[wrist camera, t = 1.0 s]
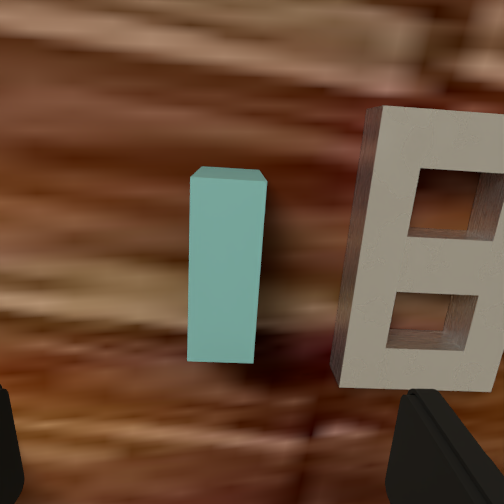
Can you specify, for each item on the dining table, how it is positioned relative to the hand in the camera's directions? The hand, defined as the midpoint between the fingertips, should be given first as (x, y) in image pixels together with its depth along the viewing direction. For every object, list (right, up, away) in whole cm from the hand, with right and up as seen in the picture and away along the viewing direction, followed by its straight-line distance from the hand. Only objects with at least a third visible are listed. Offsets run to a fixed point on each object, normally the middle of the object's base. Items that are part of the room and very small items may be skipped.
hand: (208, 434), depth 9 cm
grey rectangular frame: (+14, +4, +20) cm, 25 cm away
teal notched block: (-1, +5, +19) cm, 20 cm away
